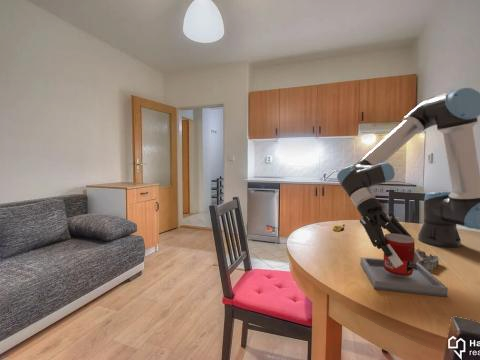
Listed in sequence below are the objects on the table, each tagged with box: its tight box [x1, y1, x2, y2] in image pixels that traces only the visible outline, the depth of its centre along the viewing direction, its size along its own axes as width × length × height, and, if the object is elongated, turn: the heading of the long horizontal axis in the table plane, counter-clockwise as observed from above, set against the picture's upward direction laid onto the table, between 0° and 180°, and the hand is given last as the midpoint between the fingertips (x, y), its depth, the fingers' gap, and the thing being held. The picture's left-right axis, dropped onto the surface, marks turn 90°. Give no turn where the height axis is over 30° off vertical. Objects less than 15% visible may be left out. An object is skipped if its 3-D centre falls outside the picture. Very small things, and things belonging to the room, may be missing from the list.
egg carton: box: [415, 248, 441, 271], centre depth 87 cm, size 11×8×4 cm
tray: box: [359, 256, 449, 298], centre depth 77 cm, size 18×18×2 cm
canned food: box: [383, 232, 415, 276], centre depth 77 cm, size 8×8×11 cm
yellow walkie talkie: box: [332, 224, 346, 232], centre depth 136 cm, size 5×2×15 cm
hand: (409, 263), depth 74 cm, fingers closed on canned food, 8 cm apart
